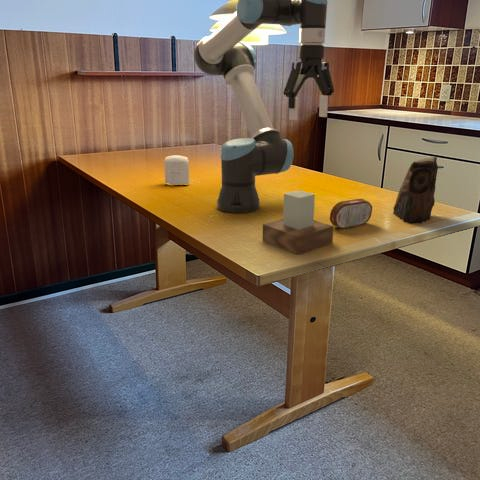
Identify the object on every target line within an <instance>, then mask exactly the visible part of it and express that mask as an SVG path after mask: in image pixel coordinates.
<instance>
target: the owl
mask: <svg viewBox="0 0 480 480" xmlns="http://www.w3.org/2000/svg"><path fill="white" fill-rule="evenodd" d="M437 159H438V157H437V156H433V157H428V158H427V157H426V158H423V159H418V160H416V161H413V162H412V163H411V164H410V166H409V168H408V170H407V171H406V175H405V177H404V180H403V182H402V184H401V186H400V189H399V190H398V194H397V197H396V201H395V203H394V206H393V212H392V214H393V215H395V216H396V217H397V218H399V219H400V220H401V221H402V222H403V223H406V224H411V225H413V224H414V225H415V224H417V225H419V224H423V222H427V221H430V220H431V215H432V211H433V207H434V206H435V204H436V203H435V200H436V199H435V192H436V182H437V181H436V180H437V177H438V176H437V175H438V170H439V166H438V163H437Z"/></svg>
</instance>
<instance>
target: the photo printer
mask: <svg viewBox="0 0 480 480" xmlns="http://www.w3.org/2000/svg"><path fill="white" fill-rule="evenodd" d="M163 163H164V184H165V183H169V184H189V185H190V161H189V157H186V156H184V155H183V156H182V155H179V154H177V155H176V154H175V155H168V156H166V157H165V158H164V162H163Z"/></svg>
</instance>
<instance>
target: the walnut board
mask: <svg viewBox="0 0 480 480" xmlns="http://www.w3.org/2000/svg"><path fill="white" fill-rule="evenodd" d="M334 228H335V226H333V225H332V224H328V223H324V222H321V221H318V220H316V219H314V221H313V226H310V227H307V228H303V229H300V230H297V229H294V228H291V227H288V226H285V225H283V218H280V219H277V220H273V221H270V222H266V223H263V224H262V242H265V243H267V244H269V245H272V246H274V247H278V248H280V249H283V250H285V251H287V252H290V253H293V254H296V255H301V254H304V253H307V252H310V251H312V250H315V249H319V248H321V247H324V246H327V245H329V244H333V239H334Z"/></svg>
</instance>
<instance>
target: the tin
mask: <svg viewBox="0 0 480 480" xmlns="http://www.w3.org/2000/svg"><path fill="white" fill-rule="evenodd" d="M372 212H373V206H372V204H371V202H369V201H368V200H365V199H364V198H355V199H348V200H347V199H346V200H341V201H338V202H337V203H335V204H334V206H333V207H332V209H331V211H330V214H329V221H330V223H331V224H330V225H332V226H334V227H335V228H338V229H341V230H342V229H349V228H355V227H360V226H364V225H366V224H367V223H368V222H369V221H370V219H371V217H372Z"/></svg>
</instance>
